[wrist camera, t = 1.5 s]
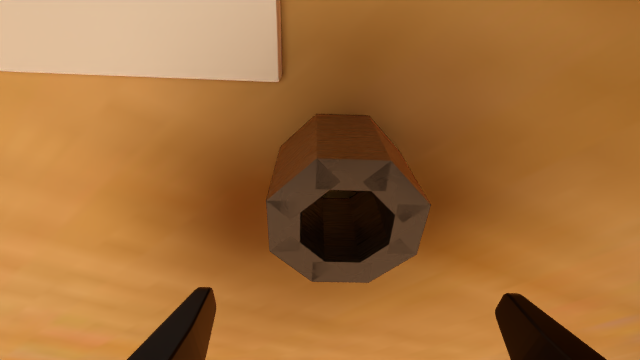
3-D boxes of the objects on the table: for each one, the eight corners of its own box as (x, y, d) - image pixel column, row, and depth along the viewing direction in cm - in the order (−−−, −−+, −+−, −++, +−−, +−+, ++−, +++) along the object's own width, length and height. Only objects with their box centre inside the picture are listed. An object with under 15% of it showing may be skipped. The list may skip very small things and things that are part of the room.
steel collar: (406, 117, 15) (443, 162, 10) (385, 217, 18) (407, 283, 14) (279, 112, 14) (263, 156, 10) (282, 214, 18) (271, 281, 13)
